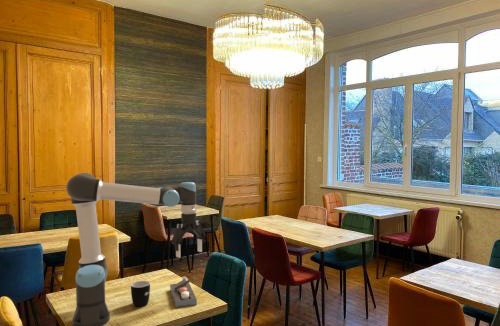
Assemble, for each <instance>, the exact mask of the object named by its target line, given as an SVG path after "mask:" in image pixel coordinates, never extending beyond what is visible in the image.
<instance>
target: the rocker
mask: <svg viewBox="0 0 500 326" xmlns="http://www.w3.org/2000/svg"><path fill="white" fill-rule="evenodd" d="M187 283H189V284H190V279H189V278H188V277H186V279H184V280H182V279H181V280H180V281H179V282H177V283H174V284H175V285H174V288H175V290H177V289H178V288H180V287H182V286H184V285H185V284H187Z"/></svg>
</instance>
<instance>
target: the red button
mask: <svg viewBox="0 0 500 326" xmlns="http://www.w3.org/2000/svg"><path fill="white" fill-rule="evenodd" d="M184 291H187V288H186V287H181V288H180V295H181V292H184Z"/></svg>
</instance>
